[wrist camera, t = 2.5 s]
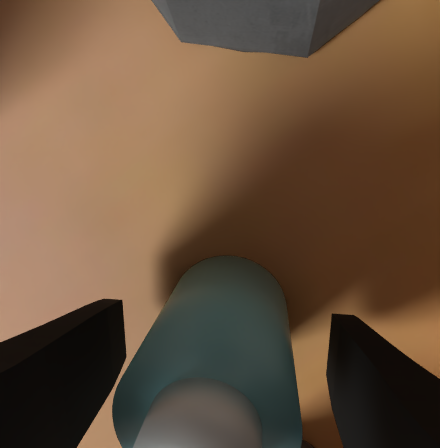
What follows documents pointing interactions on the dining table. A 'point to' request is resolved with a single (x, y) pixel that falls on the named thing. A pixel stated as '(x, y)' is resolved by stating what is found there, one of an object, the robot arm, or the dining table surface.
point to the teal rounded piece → (214, 366)
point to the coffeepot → (261, 23)
